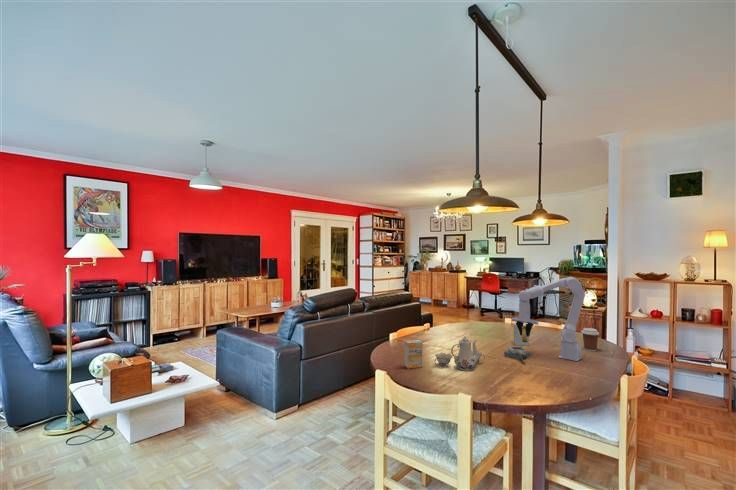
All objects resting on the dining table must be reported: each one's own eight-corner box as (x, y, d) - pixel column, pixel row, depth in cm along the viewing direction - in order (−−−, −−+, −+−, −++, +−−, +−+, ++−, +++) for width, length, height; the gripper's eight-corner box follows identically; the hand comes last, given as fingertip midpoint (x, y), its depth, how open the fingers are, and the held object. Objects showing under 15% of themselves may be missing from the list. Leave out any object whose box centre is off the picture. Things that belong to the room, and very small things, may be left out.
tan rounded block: (529, 341, 206) (529, 325, 206) (525, 343, 202) (525, 327, 202) (524, 340, 208) (523, 324, 208) (520, 342, 204) (519, 326, 205)
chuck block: (529, 356, 200) (529, 352, 200) (522, 360, 193) (522, 355, 193) (512, 352, 207) (512, 348, 207) (504, 356, 200) (504, 352, 200)
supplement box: (407, 369, 180) (407, 342, 181) (404, 366, 185) (404, 340, 185) (422, 367, 183) (422, 341, 183) (419, 364, 187) (418, 339, 187)
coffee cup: (596, 348, 215) (596, 327, 215) (602, 352, 206) (601, 331, 206) (579, 347, 217) (579, 327, 217) (584, 351, 209) (583, 330, 209)
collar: (532, 359, 186) (532, 355, 186) (517, 359, 187) (517, 354, 187) (521, 350, 203) (521, 346, 203) (508, 349, 204) (508, 345, 204)
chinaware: (475, 361, 197) (472, 330, 198) (496, 367, 181) (493, 334, 183) (430, 368, 187) (428, 335, 188) (448, 375, 171) (446, 339, 173)
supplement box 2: (525, 342, 228) (525, 322, 228) (529, 345, 221) (529, 325, 221) (513, 342, 229) (513, 322, 229) (517, 345, 222) (516, 325, 222)
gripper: (540, 312, 203) (540, 336, 203) (515, 309, 213) (515, 332, 213) (535, 314, 198) (535, 338, 198) (509, 310, 208) (510, 334, 208)
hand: (524, 335), depth 205 cm, fingers closed on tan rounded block, 3 cm apart
